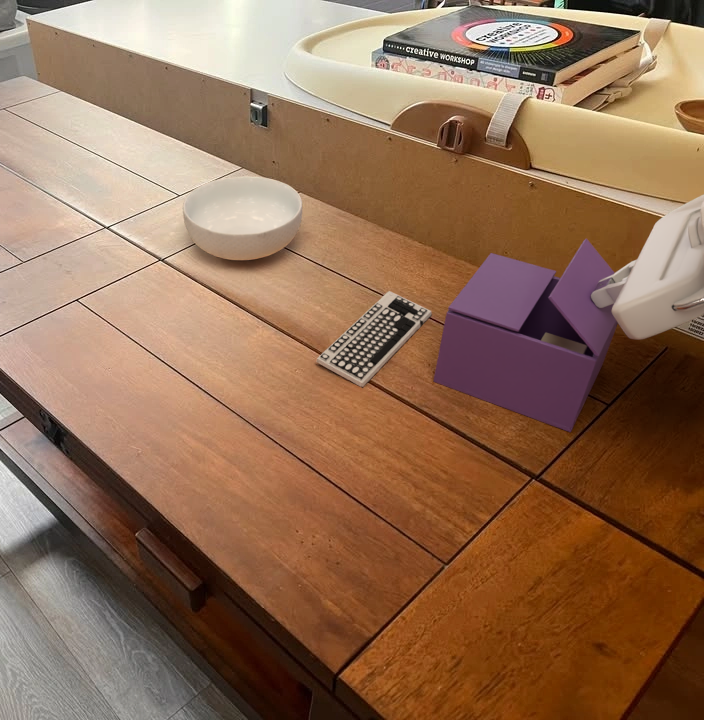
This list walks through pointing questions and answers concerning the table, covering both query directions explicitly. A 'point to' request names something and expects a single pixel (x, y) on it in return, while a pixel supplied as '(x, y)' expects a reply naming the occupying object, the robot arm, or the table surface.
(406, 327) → the keyboard
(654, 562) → the table surface
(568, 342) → the block
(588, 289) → the flap
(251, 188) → the cereal bowl
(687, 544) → the table surface
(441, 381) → the box
